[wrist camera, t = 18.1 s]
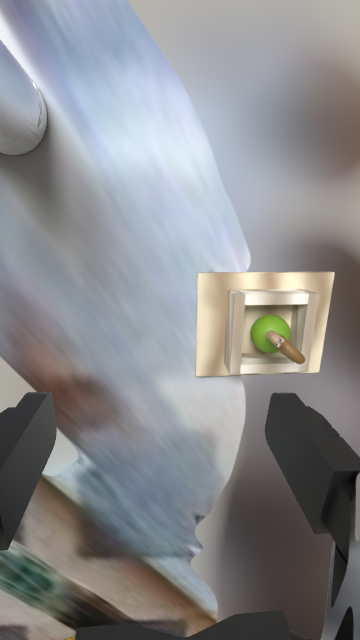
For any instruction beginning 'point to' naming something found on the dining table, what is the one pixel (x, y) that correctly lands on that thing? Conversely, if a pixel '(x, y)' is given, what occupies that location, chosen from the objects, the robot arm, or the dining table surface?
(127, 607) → the dining table surface
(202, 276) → the wooden box tray
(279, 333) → the snail figurine
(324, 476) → the robot arm
